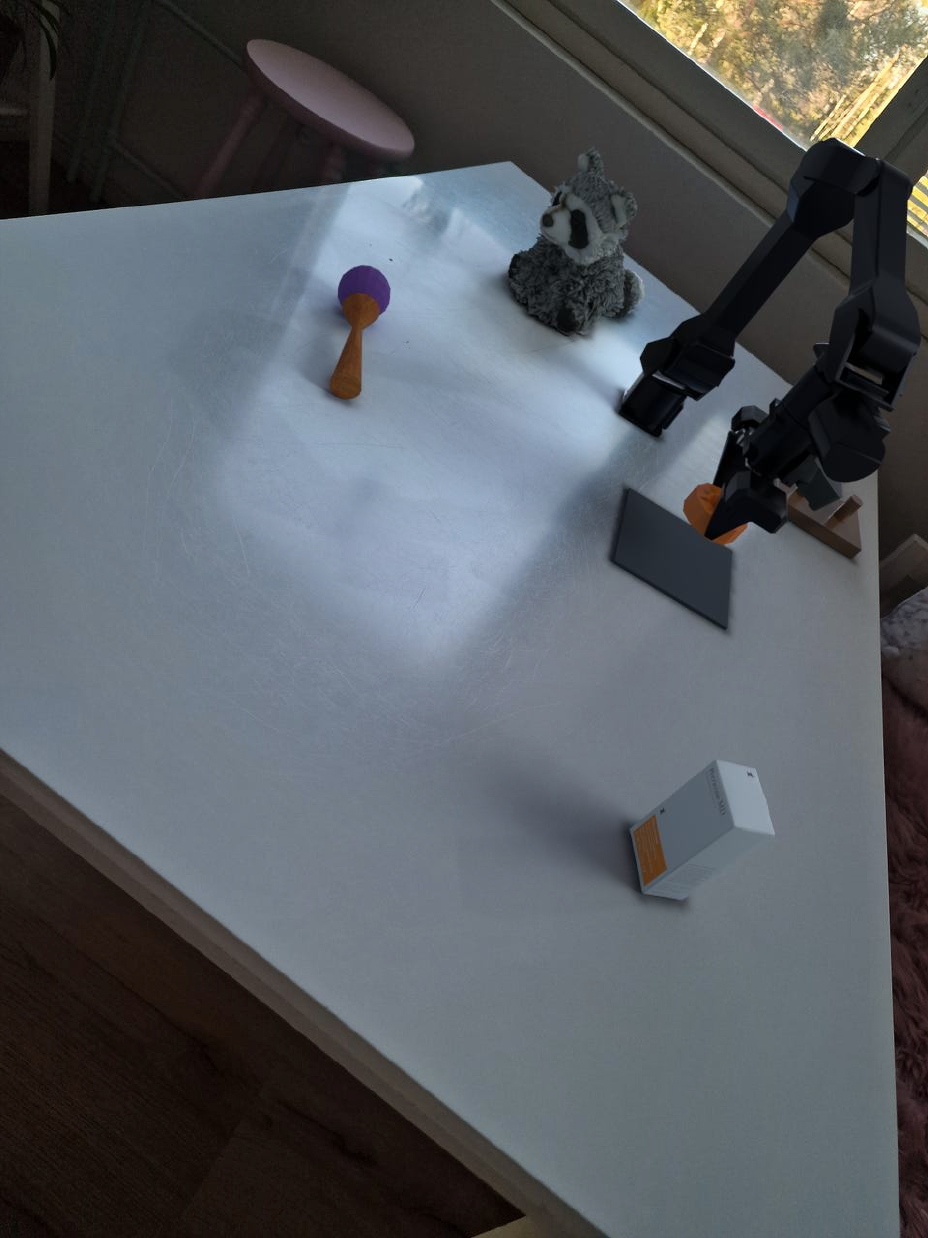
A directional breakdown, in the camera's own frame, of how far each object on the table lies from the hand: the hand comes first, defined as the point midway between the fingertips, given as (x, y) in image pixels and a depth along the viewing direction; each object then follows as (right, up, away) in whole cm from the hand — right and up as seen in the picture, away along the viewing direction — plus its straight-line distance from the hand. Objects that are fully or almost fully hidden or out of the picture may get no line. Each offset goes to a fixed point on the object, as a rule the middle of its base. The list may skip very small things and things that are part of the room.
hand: (709, 519), depth 111 cm
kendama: (-40, +19, 0) cm, 44 cm away
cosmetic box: (-12, -32, -28) cm, 44 cm away
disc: (0, 0, 0) cm, 0 cm away
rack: (+21, +4, +28) cm, 35 cm away
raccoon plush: (-13, +36, +34) cm, 51 cm away
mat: (-3, -4, +4) cm, 7 cm away
